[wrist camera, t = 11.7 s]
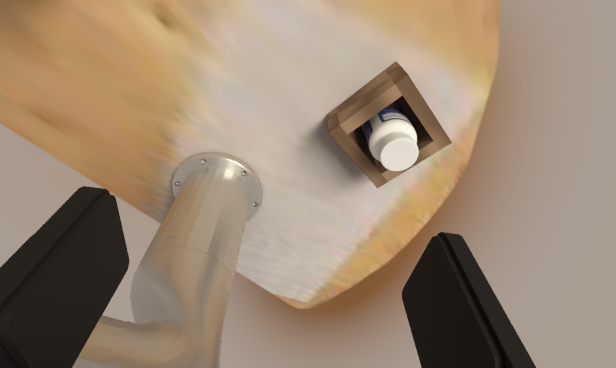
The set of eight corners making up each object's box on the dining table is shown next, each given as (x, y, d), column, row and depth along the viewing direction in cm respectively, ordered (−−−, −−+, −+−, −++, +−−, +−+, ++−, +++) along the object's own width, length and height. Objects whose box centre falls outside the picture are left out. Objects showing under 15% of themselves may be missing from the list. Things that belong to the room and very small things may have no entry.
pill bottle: (380, 146, 42) (396, 185, 35) (352, 122, 40) (362, 159, 33) (412, 117, 40) (435, 152, 33) (383, 91, 38) (402, 122, 31)
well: (370, 166, 44) (377, 188, 40) (326, 115, 39) (328, 133, 35) (437, 123, 40) (451, 142, 36) (396, 61, 36) (408, 74, 32)
